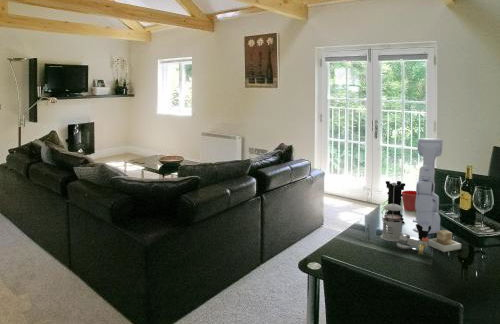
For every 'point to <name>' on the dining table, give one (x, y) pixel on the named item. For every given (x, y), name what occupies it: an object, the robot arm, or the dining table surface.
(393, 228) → the french press
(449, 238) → the block
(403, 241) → the crank
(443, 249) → the tray
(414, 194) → the flower pot
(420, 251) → the crank base
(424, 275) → the dining table surface
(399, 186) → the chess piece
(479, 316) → the dining table surface
